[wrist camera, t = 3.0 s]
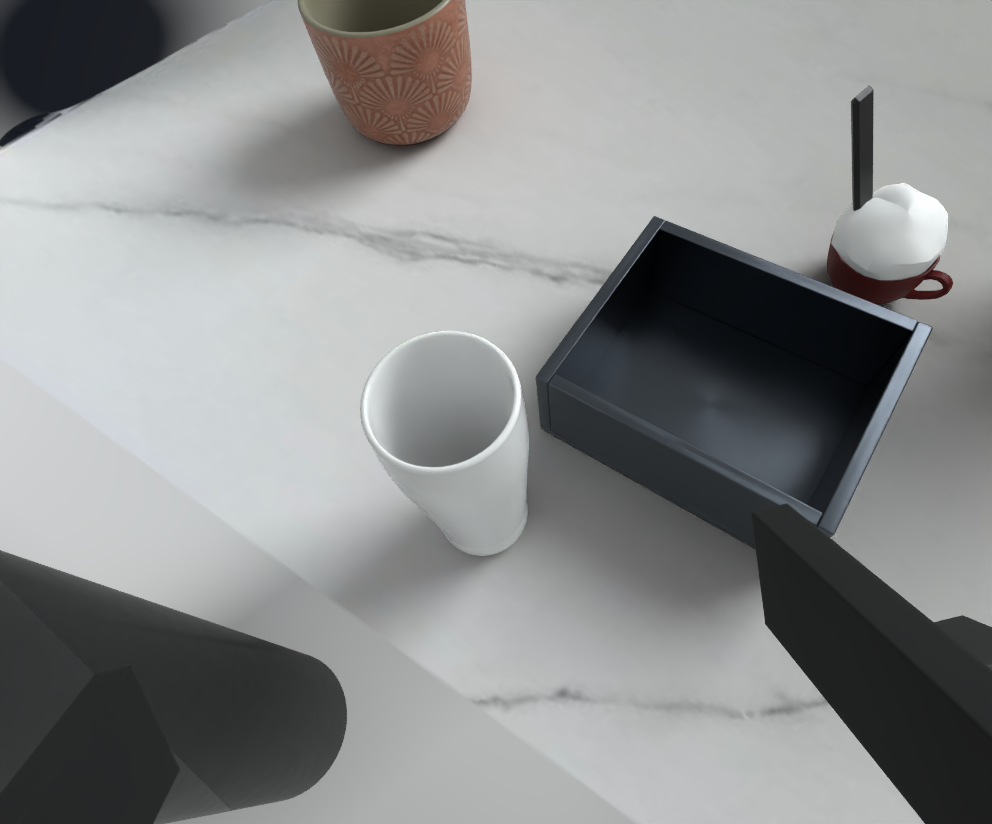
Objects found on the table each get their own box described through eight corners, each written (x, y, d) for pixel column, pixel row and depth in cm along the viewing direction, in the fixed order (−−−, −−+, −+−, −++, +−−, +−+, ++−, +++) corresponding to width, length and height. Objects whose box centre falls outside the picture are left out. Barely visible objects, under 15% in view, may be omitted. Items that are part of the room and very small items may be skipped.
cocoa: (944, 312, 42) (1070, 166, 31) (858, 344, 42) (955, 207, 31) (858, 214, 46) (942, 58, 36) (780, 242, 46) (841, 93, 35)
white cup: (506, 591, 37) (468, 505, 23) (409, 538, 39) (323, 430, 26) (560, 492, 39) (553, 363, 26) (465, 447, 41) (414, 305, 28)
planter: (446, 50, 60) (422, -82, 51) (504, 125, 55) (490, -7, 45) (325, 100, 59) (276, -26, 49) (372, 181, 53) (328, 58, 44)
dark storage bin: (540, 428, 41) (535, 376, 35) (643, 282, 46) (654, 215, 40) (791, 569, 36) (834, 535, 30) (881, 387, 40) (933, 326, 34)
